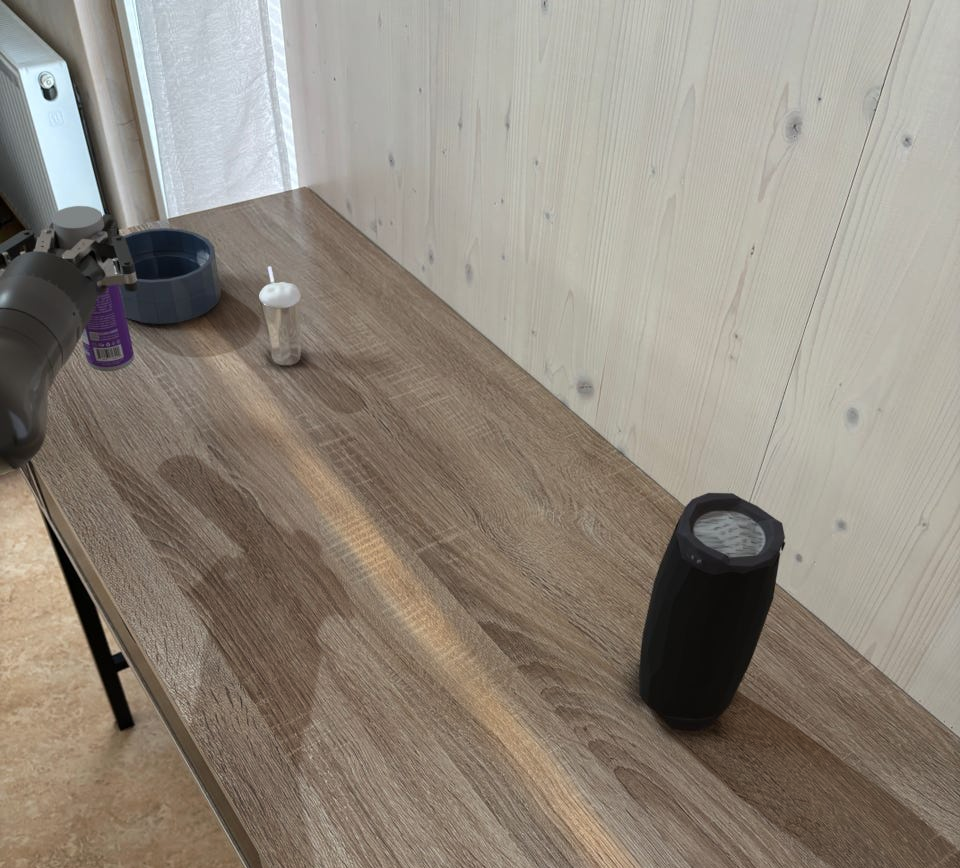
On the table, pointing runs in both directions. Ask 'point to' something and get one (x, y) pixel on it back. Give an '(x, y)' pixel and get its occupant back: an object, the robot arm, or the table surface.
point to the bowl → (171, 276)
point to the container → (108, 322)
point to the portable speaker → (708, 608)
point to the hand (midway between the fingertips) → (89, 223)
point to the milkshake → (282, 320)
